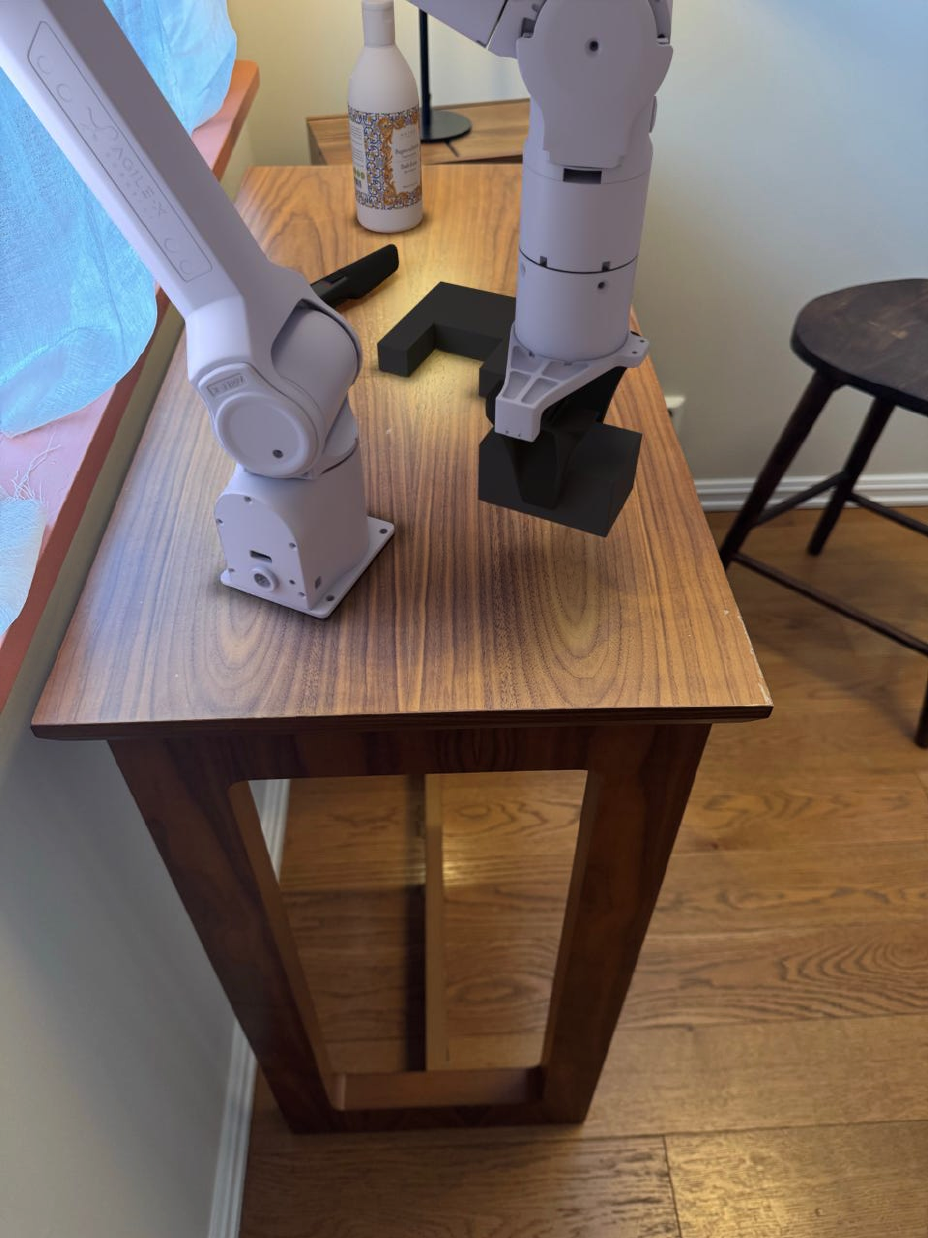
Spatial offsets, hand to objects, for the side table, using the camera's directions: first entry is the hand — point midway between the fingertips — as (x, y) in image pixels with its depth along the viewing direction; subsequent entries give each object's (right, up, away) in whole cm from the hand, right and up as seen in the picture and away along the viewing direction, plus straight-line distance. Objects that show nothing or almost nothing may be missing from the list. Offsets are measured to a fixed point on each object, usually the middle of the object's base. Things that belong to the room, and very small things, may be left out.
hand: (557, 475), depth 53 cm
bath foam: (-13, +34, +44) cm, 57 cm away
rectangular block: (0, -1, +1) cm, 1 cm away
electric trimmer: (-17, +21, +31) cm, 41 cm away
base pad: (-5, +15, +25) cm, 30 cm away
